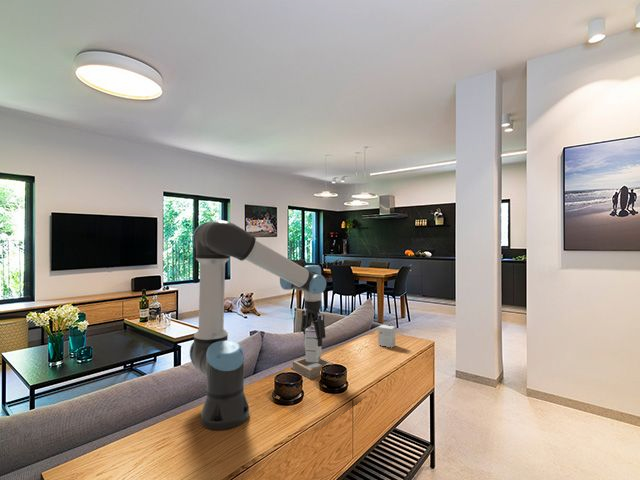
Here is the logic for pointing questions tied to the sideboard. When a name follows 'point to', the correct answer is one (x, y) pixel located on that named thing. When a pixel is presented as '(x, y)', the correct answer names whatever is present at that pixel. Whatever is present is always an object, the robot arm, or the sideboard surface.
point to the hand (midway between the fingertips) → (312, 350)
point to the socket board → (309, 367)
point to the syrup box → (311, 345)
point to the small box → (386, 336)
